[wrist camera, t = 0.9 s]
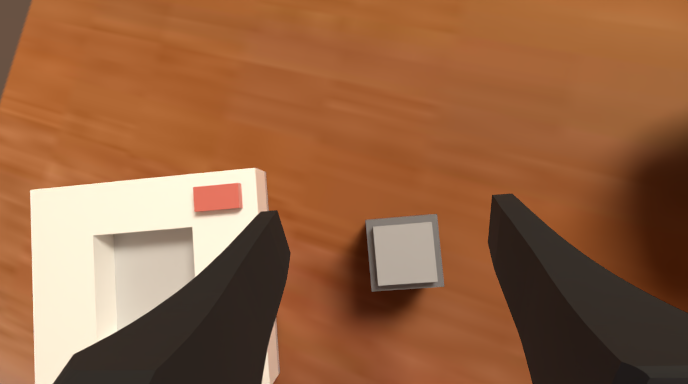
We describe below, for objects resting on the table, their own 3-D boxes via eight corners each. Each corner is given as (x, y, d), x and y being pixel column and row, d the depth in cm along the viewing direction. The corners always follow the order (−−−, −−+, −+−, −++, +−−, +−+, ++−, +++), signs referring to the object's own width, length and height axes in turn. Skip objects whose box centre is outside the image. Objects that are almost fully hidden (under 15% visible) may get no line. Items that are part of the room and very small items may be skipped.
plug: (431, 273, 26) (446, 288, 21) (373, 277, 26) (371, 293, 21) (425, 214, 26) (438, 214, 21) (368, 219, 27) (365, 220, 21)
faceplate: (279, 372, 27) (267, 392, 24) (64, 383, 28) (27, 403, 25) (265, 172, 28) (252, 166, 25) (59, 192, 29) (22, 189, 26)
